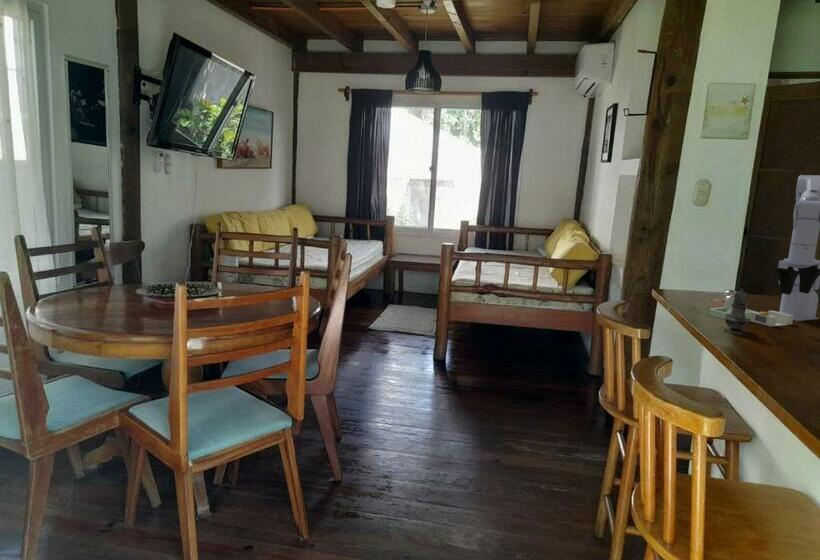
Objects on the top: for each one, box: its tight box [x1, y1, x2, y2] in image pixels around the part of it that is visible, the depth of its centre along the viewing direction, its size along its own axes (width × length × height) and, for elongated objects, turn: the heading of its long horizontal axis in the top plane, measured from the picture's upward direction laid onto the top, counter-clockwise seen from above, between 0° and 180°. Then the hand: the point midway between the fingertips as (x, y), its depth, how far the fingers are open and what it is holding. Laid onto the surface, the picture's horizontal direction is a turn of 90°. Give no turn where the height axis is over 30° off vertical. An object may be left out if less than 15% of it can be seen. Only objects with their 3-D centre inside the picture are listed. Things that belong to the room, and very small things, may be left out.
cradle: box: [749, 310, 794, 327], centre depth 151 cm, size 9×6×4 cm, turn 111°
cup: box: [710, 299, 748, 309], centre depth 165 cm, size 7×7×3 cm
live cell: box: [723, 295, 735, 313], centre depth 156 cm, size 4×4×6 cm
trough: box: [706, 307, 757, 321], centre depth 157 cm, size 12×7×2 cm, turn 111°
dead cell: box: [723, 289, 737, 303], centre depth 165 cm, size 4×4×6 cm
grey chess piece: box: [723, 287, 751, 336], centre depth 140 cm, size 6×6×12 cm
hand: (794, 293), depth 146 cm, fingers open, 7 cm apart
